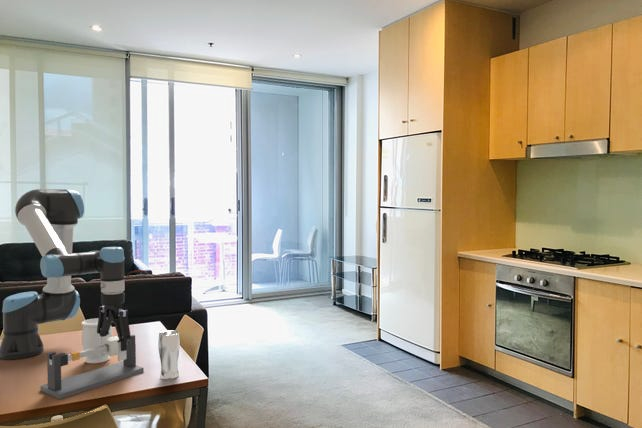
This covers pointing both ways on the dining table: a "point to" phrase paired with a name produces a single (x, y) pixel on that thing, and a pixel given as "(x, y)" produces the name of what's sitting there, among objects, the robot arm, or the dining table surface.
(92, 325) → the jar
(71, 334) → the dining table surface
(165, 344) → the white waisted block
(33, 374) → the dining table surface
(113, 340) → the sleeve
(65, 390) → the rod support stand
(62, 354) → the guide rod
